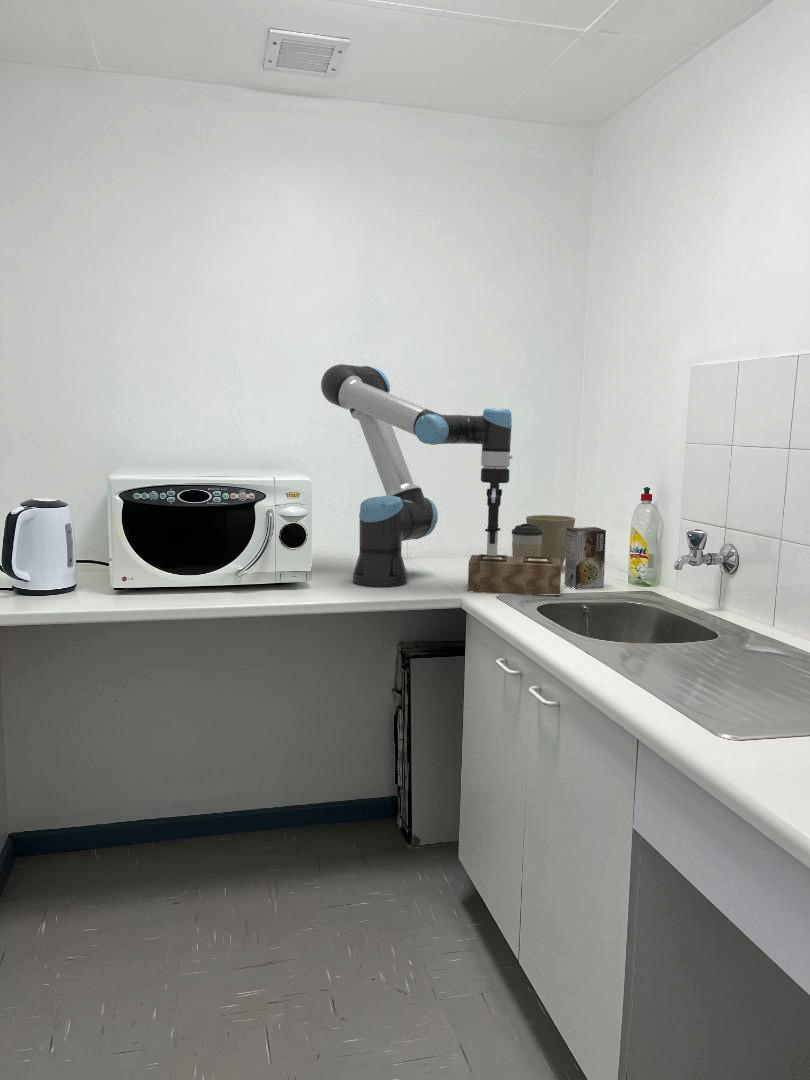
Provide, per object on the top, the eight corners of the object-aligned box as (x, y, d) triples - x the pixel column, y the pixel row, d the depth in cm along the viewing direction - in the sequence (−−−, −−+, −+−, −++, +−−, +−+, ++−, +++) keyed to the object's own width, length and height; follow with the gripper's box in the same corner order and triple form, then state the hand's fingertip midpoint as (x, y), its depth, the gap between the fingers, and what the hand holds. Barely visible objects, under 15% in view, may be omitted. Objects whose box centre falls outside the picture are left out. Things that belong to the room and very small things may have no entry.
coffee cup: (543, 579, 238) (545, 527, 236) (511, 578, 238) (513, 526, 236) (538, 573, 247) (540, 523, 245) (508, 572, 247) (510, 522, 245)
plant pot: (578, 567, 259) (580, 516, 256) (566, 574, 245) (568, 521, 243) (532, 562, 265) (533, 513, 263) (517, 570, 252) (519, 518, 249)
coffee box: (592, 583, 233) (594, 526, 230) (604, 587, 227) (607, 529, 224) (563, 584, 230) (565, 527, 228) (574, 589, 224) (577, 530, 222)
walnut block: (467, 591, 218) (468, 559, 217) (470, 583, 230) (471, 552, 229) (559, 596, 215) (561, 563, 213) (558, 587, 226) (559, 556, 225)
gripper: (509, 469, 211) (505, 560, 215) (510, 466, 224) (506, 552, 228) (479, 468, 213) (476, 558, 216) (482, 465, 225) (479, 550, 229)
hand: (491, 555), depth 222 cm, fingers closed
